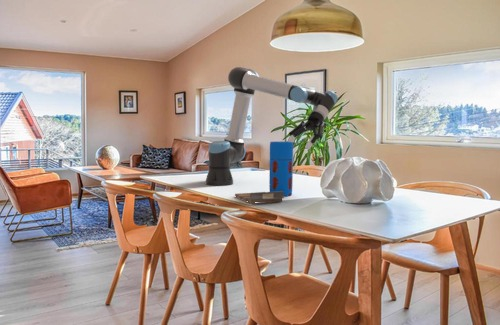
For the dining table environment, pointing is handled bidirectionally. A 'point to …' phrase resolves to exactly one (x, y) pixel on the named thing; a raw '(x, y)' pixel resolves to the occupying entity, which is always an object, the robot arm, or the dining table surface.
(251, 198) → the shelf board
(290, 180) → the blue tall block
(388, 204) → the dining table surface
